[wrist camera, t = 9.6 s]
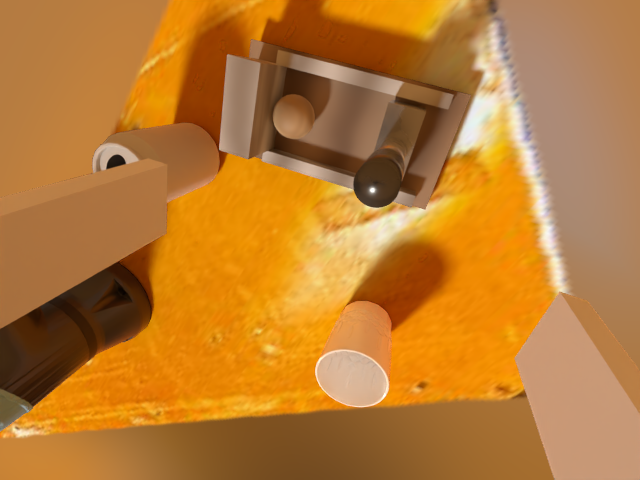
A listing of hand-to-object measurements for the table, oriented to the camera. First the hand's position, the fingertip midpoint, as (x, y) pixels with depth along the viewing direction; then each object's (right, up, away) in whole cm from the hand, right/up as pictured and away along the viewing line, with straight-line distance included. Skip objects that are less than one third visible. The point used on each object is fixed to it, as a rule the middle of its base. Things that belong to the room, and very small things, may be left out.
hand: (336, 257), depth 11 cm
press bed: (+2, +13, +24) cm, 27 cm away
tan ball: (-2, +13, +23) cm, 26 cm away
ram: (+7, +10, +21) cm, 24 cm away
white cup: (+6, -10, +34) cm, 35 cm away
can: (-16, +11, +30) cm, 36 cm away
